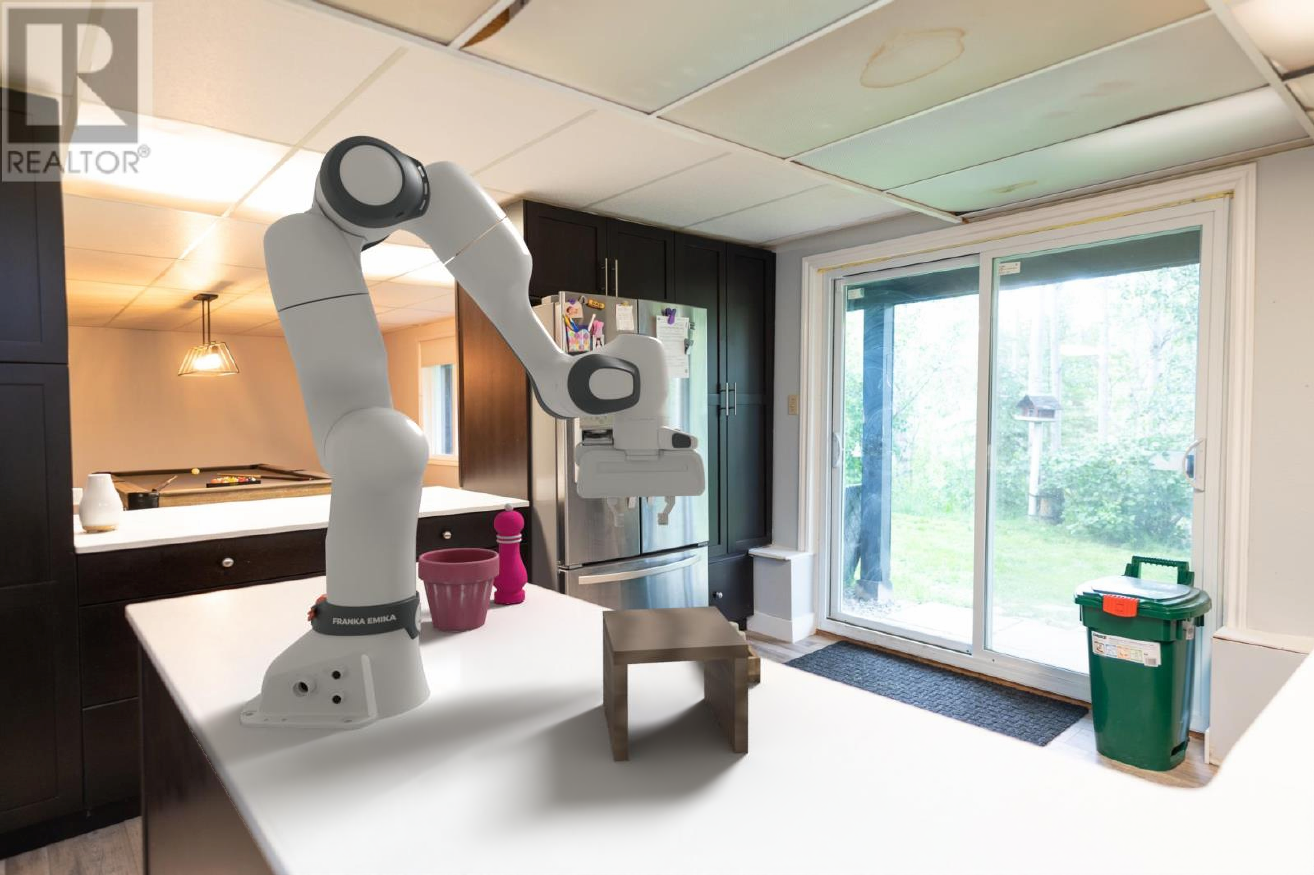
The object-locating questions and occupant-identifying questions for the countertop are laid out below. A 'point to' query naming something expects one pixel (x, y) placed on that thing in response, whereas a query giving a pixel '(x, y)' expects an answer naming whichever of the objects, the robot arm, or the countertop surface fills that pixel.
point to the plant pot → (458, 586)
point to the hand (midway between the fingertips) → (641, 525)
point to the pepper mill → (509, 558)
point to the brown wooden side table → (676, 641)
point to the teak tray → (751, 660)
